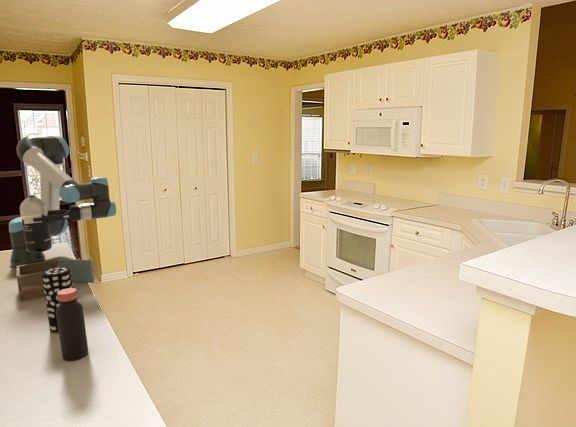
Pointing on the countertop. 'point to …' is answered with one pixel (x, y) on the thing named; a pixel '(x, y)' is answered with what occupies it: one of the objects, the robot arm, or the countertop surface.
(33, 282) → the bay
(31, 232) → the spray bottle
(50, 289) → the spotted tube
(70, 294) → the vinegar
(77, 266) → the bay door
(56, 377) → the countertop surface
